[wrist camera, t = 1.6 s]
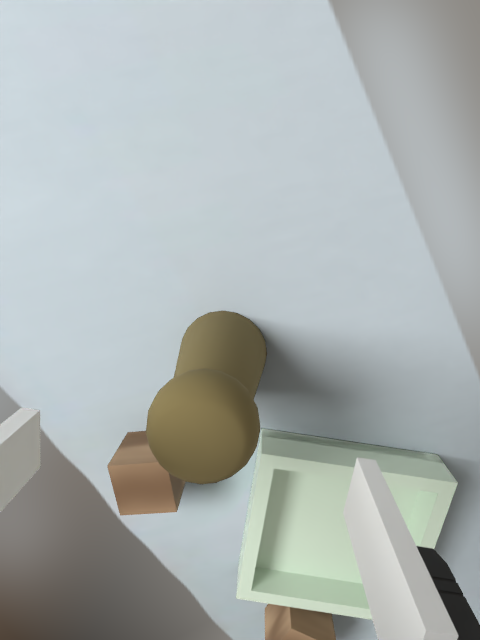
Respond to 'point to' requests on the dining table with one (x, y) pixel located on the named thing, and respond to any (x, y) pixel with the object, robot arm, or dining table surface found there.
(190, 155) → the dining table surface
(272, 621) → the walnut cube
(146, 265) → the dining table surface
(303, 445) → the tray
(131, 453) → the walnut cube
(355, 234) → the dining table surface
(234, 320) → the olive tall rounded piece
